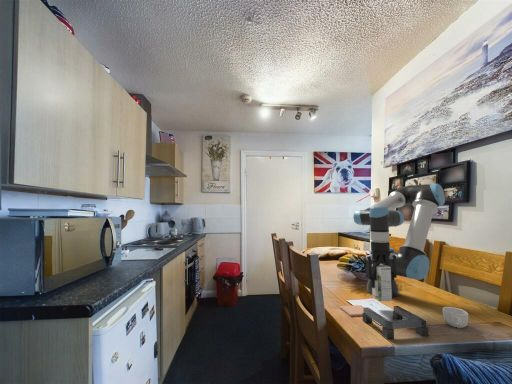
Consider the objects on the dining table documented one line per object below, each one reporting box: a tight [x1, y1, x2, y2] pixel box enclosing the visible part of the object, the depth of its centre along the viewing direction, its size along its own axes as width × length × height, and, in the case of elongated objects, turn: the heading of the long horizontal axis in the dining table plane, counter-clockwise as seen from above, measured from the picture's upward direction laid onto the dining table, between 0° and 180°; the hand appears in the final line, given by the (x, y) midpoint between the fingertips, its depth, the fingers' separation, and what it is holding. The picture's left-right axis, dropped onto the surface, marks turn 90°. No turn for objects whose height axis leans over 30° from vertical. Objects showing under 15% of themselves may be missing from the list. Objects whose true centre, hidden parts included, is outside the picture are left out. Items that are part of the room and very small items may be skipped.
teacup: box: [442, 306, 469, 329], centre depth 95 cm, size 10×8×5 cm
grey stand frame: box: [362, 305, 429, 340], centre depth 93 cm, size 16×14×5 cm
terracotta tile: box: [339, 304, 365, 317], centre depth 108 cm, size 10×9×1 cm
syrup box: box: [372, 264, 393, 302], centre depth 111 cm, size 6×6×14 cm
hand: (381, 294), depth 111 cm, fingers closed on syrup box, 6 cm apart
